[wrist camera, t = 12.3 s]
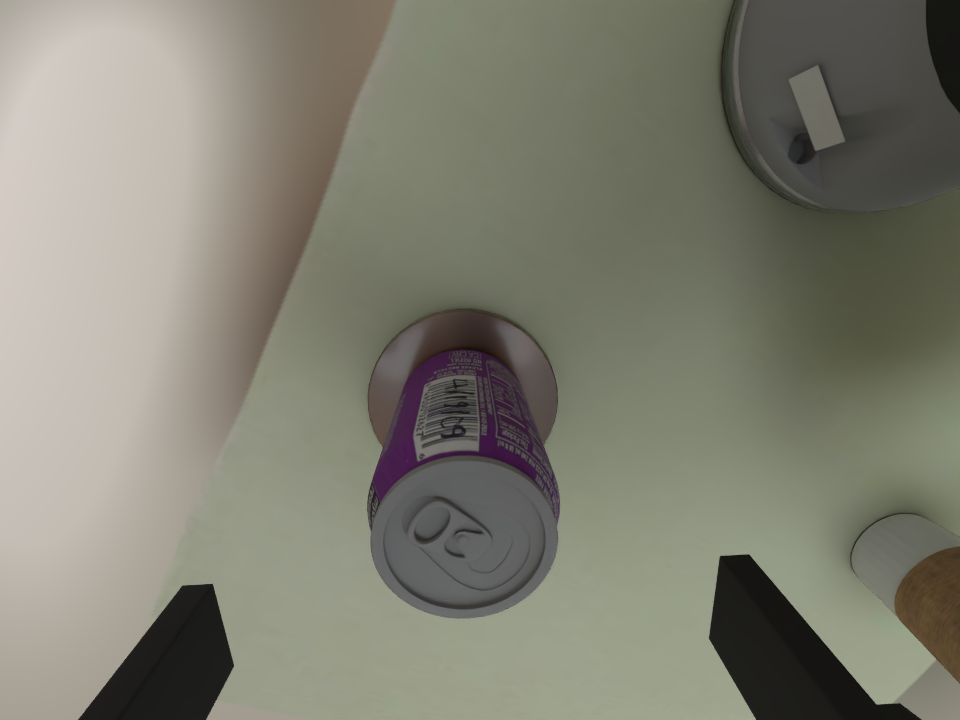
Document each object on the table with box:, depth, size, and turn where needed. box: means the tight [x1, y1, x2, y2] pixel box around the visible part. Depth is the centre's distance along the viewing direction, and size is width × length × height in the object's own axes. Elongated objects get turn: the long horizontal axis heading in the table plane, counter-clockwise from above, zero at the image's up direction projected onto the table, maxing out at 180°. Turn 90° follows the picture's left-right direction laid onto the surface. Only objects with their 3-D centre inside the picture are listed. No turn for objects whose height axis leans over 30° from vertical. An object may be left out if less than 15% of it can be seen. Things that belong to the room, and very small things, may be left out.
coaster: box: [368, 309, 558, 447], centre depth 27 cm, size 11×11×1 cm
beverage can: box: [367, 350, 560, 618], centre depth 21 cm, size 7×7×12 cm
